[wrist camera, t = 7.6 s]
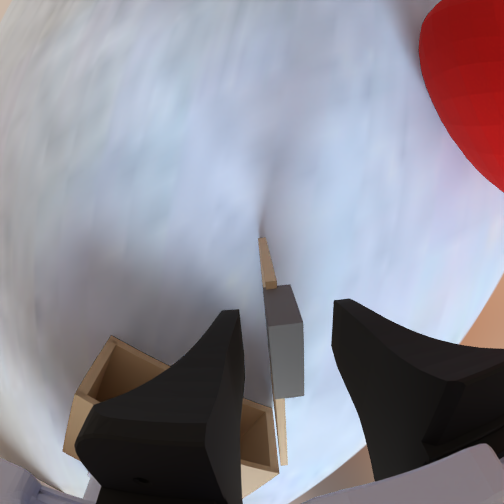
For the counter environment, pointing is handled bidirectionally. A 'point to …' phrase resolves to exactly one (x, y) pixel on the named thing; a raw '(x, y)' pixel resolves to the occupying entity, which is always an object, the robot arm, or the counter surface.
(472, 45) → the tomato
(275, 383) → the carton flap
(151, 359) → the carton
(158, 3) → the counter surface
